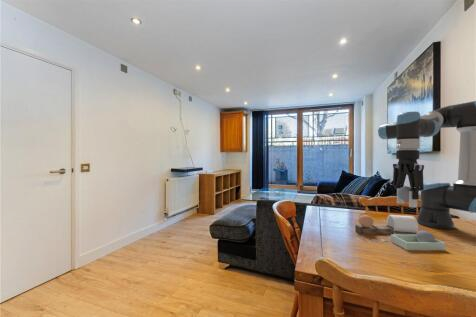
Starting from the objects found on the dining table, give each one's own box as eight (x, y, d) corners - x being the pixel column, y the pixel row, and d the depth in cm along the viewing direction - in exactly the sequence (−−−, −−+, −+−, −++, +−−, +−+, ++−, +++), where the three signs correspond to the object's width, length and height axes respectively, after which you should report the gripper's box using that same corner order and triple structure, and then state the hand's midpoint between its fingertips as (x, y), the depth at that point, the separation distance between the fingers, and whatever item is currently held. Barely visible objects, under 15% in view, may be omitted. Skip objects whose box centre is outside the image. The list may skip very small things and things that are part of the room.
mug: (418, 235, 100) (418, 218, 100) (394, 233, 102) (394, 217, 102) (403, 227, 112) (404, 212, 112) (382, 225, 114) (383, 211, 114)
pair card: (383, 239, 95) (383, 237, 95) (393, 244, 89) (393, 243, 89) (366, 239, 95) (366, 237, 95) (374, 244, 89) (374, 243, 89)
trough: (425, 242, 92) (425, 234, 91) (445, 251, 83) (445, 242, 83) (390, 242, 92) (390, 234, 92) (406, 251, 83) (406, 242, 83)
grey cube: (408, 199, 91) (408, 185, 91) (419, 202, 85) (420, 187, 85) (394, 199, 91) (394, 185, 91) (404, 202, 85) (404, 187, 85)
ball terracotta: (368, 225, 105) (368, 213, 105) (376, 229, 99) (376, 216, 99) (356, 225, 105) (356, 213, 105) (363, 229, 99) (363, 216, 99)
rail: (387, 232, 104) (387, 224, 104) (393, 235, 100) (393, 227, 100) (355, 231, 104) (355, 224, 104) (359, 234, 100) (360, 227, 100)
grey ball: (426, 242, 90) (426, 228, 90) (439, 248, 84) (439, 233, 84) (411, 242, 90) (412, 228, 90) (424, 248, 84) (424, 233, 84)
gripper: (383, 150, 97) (382, 200, 97) (417, 148, 78) (416, 211, 78) (399, 150, 97) (398, 200, 97) (437, 149, 78) (436, 211, 78)
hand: (406, 205), depth 88 cm, fingers closed on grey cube, 6 cm apart
